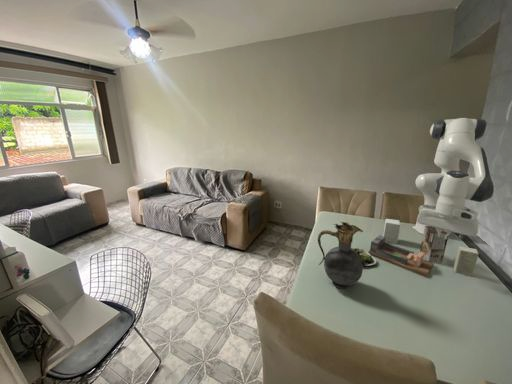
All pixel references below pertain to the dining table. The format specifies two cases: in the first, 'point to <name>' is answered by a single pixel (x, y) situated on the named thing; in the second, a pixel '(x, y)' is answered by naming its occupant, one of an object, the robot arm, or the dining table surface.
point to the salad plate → (365, 258)
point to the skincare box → (465, 260)
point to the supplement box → (391, 230)
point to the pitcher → (342, 257)
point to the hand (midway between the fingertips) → (442, 238)
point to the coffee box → (433, 244)
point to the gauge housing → (397, 256)
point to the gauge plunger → (415, 259)
